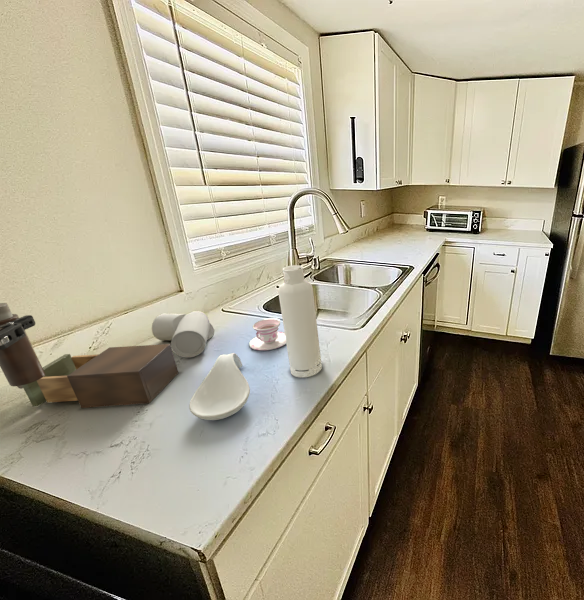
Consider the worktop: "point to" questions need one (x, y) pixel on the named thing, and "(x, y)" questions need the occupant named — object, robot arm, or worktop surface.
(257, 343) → the teacup
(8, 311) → the pepper mill
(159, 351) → the cabinet
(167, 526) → the worktop surface
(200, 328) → the l-shaped cylinder
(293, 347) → the bottle
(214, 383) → the spoon rest
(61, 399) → the drawer
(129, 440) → the worktop surface
